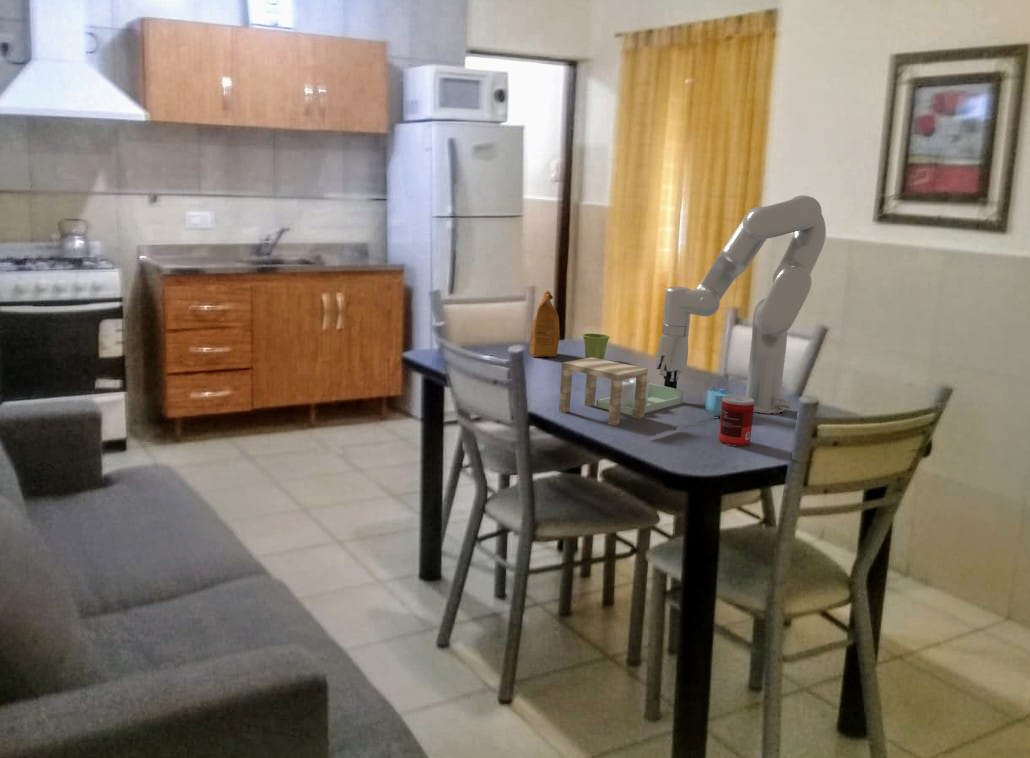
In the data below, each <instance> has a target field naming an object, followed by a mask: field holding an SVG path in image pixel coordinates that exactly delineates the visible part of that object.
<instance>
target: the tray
mask: <svg viewBox="0 0 1030 758" xmlns="http://www.w3.org/2000/svg"><path fill="white" fill-rule="evenodd" d="M683 400H684V389H679V388H676V389H675V388H670V387H666V386H664V385H661V384H655V383H651V382H649V389H648V400H647V405H645V409H644V414H646V413H650V412H653V411H658V410H661V409H665V408H668V407H673V406H677V405H681V404H683ZM609 405H610V396H609V397H605V398H601V399H597V400H596V403H595V406H596V408H600V409H603V410H604V409H605V410H608V411H609ZM633 412H634V407H633V408H630V407H626V406H621V407H620V414H624V415H629V416H632V417H633Z"/></svg>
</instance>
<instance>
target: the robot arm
mask: <svg viewBox="0 0 1030 758" xmlns="http://www.w3.org/2000/svg"><path fill="white" fill-rule="evenodd" d="M791 233H792V238H791V239H790V242H789V245H788V246H787V249H786V251H785V253H784V254H783V257H782V259H781V261H780V262H779V264H778V267H776V269H775V271H774V274H773V275H772V285H771V286H770V289H769V291H768V293H767V295H766V297H765V298H763V299H761V300H760V301H758V303H757V304H756V306H755V307H754V310H753V315H752V316H753V317H752V330H751V331H752V333H751V342H750V352H749V361H748V370H747V379H746V380H747V381H746V389H745V390H746V391H745V397H749V398H752V399H753V400H754V412H753V413H758V412H759V414H771V413H773V414H780V412H782V413H784V412H785V410H786V409H788V410H791V409H793V406H794V405H793V403H794V402H793V401H792V400H786V399H785V394H782V386H783V377H784V370H785V369H784V368H785V359H786V353H787V343H788V342H787V341H788V331H789V330H790V329H791V327H792V325H794V322H795V320H796V319H797V316H798V315H799V313H800V311H801V310H802V307H803V305H804V303H805V302H806V299H807V297H808V296H809V294H810V290H811V287H812V275H811V274H812V272H813V269H814V267H815V266H816V264H817V262H818V259H819V257H820V255H821V252H822V250H823V248H824V246H825V245H824V244H825V241H826V235H827V231H826V222H825V219H824V216H823V214H822V207H821V204H820V202H819V201H818V200H817V199H816V198H814V197H812V196H810V195H801V194H800V195H797V196H794V197H792V198H791V199H790V200H785V201H782V202H778V203H775V204H771V205H766V206H757V207H756V206H755V207H753V208H751V209H750V210H748V212H747V213H746V214H745V215H744V217H743V218H742V220H741V221H740V222H739V225H738V226H737V227H736V229H735V231H733V233H732V234H731V236H730V237H729V238H728V240H727V242H726V243H725V245H724V247H723V248H722V249H721V250H720V252H719V254H718V256H717V257H716V259H715V260H714V262H713V263H712V265H711V267H710V268H709V269H708V271H707V272H706V274H705V276H704V277H703V278H702V280H701V281H700V283H699V285H698V286H697V287H696V288H695V289H691V288H689V287H684V286H669V287H667V288H666V290H665V293H664V303H663V304H664V305H663V316H662V326H661V335H660V337H659V340H658V345H657V351H656V358H655V369H656V370H659V372H658V373H659V375H660V376H662V377H663V381H664V383H663V386H666V387H670V388H675V389H678V388H677V387H678V386H677V385H678V381H679V377H680V374H682V373H683V372H684V369H686V367H687V365H688V361H689V360H688V357H689V334H690V322H691V315H693V316H699V317H704V318H706V317H707V318H708V317H710V316H713V315H714V314H716V313H717V312H718V310H719V308H720V306H721V305H720V303H721V300H722V299H723V296H725V295H726V292H728V291H727V290H729V288H730V287H731V286H732V284H733V282H734V281H735V280H737V278H738V277H739V276H741V274H742V273H744V272H745V271H746V270H747V269H748V267H750V264H751V263H752V262H753V260H754V259H755V257H756V256H757V254H758V253H759V252H760V250H761V248H762V247H763V246H764V244H765V242H766V241H767V240H768V239H771V238H776V237H781V236H785V235H789V234H791ZM783 411H784V412H783Z"/></svg>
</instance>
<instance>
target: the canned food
mask: <svg viewBox="0 0 1030 758" xmlns="http://www.w3.org/2000/svg"><path fill="white" fill-rule="evenodd" d="M754 413H755V412H754V400H753V399H752V398H749V397H746V395H745V396H744V395H737V394H735V395H727V396H724V397H723V399H722V407H721V416H720V417H719V418H720V419H719V429H718V440H719V442H720V443H721V442H722V443H721V444H723V443H725V444H729V445H728V446H730V445H736V446H735V447H746V446H745V445H747V446H749V444H750V442H751V437H752V429H753V427H752V426H753V419H754ZM725 444H724V445H725Z"/></svg>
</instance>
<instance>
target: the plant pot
mask: <svg viewBox="0 0 1030 758" xmlns="http://www.w3.org/2000/svg"><path fill="white" fill-rule="evenodd" d="M581 336H582V337H583V341H584V353H585V355H584V356H585V359H586V358H591V357H593V358H598V359H603V360H605V354H606V350H607V346H608V345H607V344H608V342H609V339H610V338H611V336H610V335H608V334H602V333H589V332H588V333H582V335H581Z"/></svg>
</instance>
